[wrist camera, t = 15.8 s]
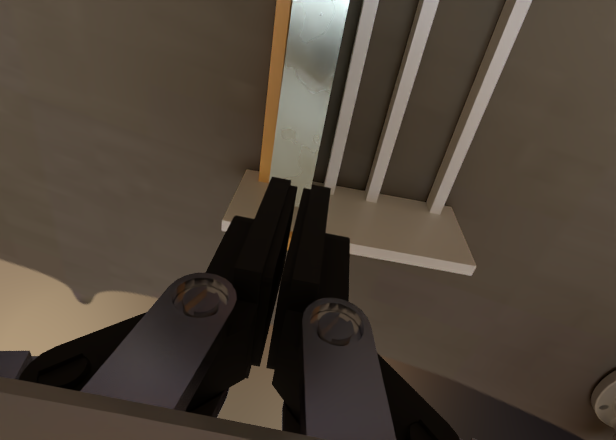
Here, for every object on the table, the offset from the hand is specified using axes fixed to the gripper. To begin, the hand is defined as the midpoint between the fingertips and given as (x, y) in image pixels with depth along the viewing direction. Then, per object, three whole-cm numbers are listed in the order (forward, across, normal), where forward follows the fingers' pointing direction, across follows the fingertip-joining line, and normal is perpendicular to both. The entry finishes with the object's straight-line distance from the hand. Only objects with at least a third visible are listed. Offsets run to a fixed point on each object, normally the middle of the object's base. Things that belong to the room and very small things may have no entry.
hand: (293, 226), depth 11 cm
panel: (+17, +1, -1) cm, 17 cm away
